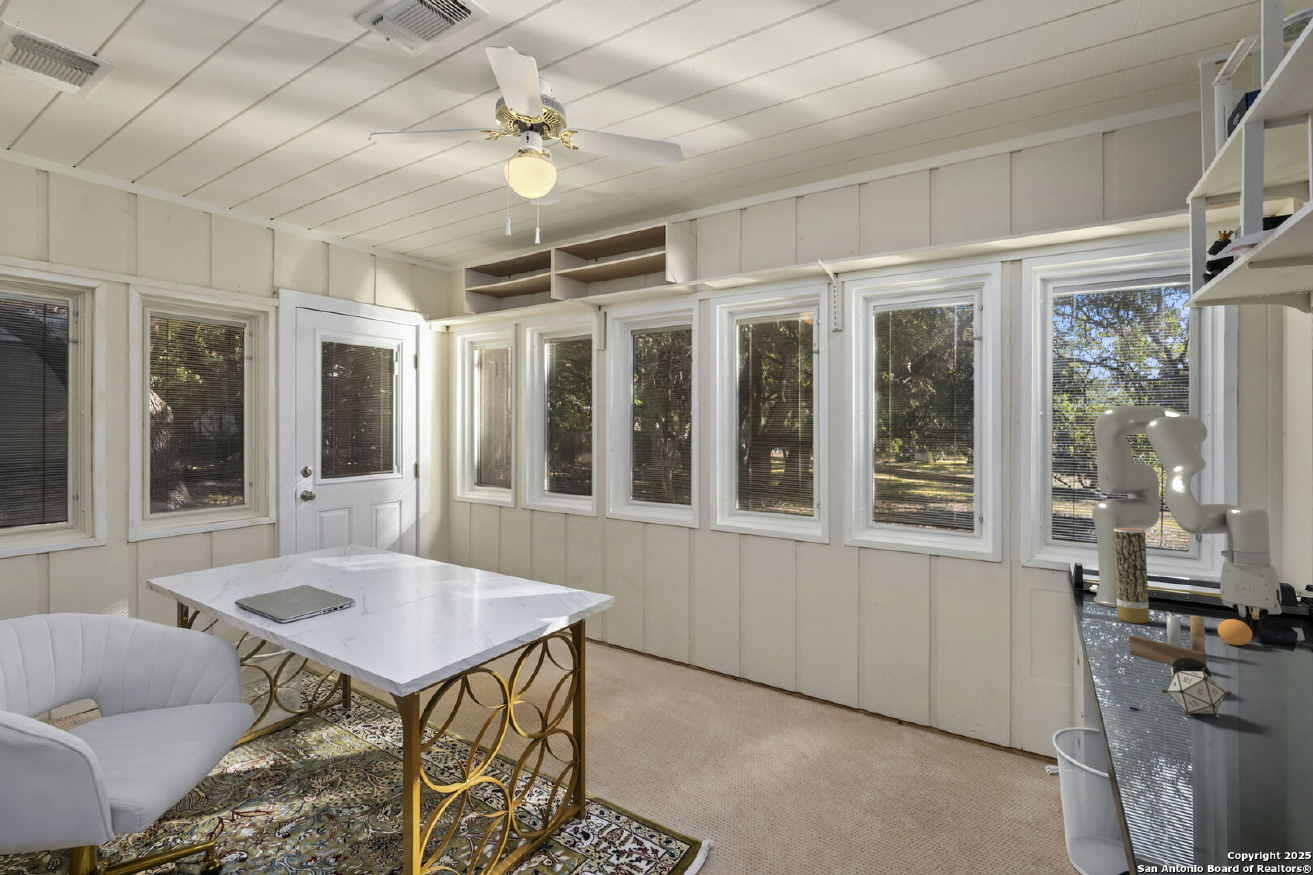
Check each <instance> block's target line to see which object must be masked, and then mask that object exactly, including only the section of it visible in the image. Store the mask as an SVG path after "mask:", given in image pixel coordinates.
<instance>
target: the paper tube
mask: <svg viewBox="0 0 1313 875" xmlns="http://www.w3.org/2000/svg"><path fill="white" fill-rule="evenodd" d="M1114 544H1115V567H1116V591H1117V608H1116V610H1117V611H1116V612H1117V618H1118V620H1120V621H1123V622H1126V623H1129V624H1130V623H1131V624H1147V623H1149V621H1150V616H1149V591H1148V590H1149V587H1148V565H1147V548H1146V547H1147V546H1146V545H1147V544H1146V530H1145V529H1138V528H1114Z"/></svg>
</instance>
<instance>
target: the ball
mask: <svg viewBox="0 0 1313 875" xmlns="http://www.w3.org/2000/svg"><path fill="white" fill-rule="evenodd" d="M1217 634H1218V635H1219V637H1220V639H1221V640H1222V641H1224V642H1226V643H1227V644H1230V645H1232V646H1244V645H1246V644H1247V645H1248V643H1250V642H1251V641H1252V638H1253V635H1252V631H1251V629H1250V628H1249V626H1248V625H1247V624H1245V623H1244V622H1243V620H1238V619H1235V618H1228V619H1225V620H1222V621H1221V622H1220V623H1219V624H1218V627H1217Z"/></svg>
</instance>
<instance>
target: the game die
mask: <svg viewBox="0 0 1313 875" xmlns="http://www.w3.org/2000/svg"><path fill="white" fill-rule="evenodd" d="M1173 669H1174V671H1176V672H1175V675H1174V677H1172V678H1171V681H1170V683H1169V685H1168V687H1167V689H1162V690H1160V692H1161V693H1163V694H1166V693H1167V694H1168V695H1169V696H1170V697H1171V698H1172V699H1173V700H1174V701H1175V702H1176V703H1177V704H1178V705H1179V706H1180V707H1181V708H1182V709H1183V710H1184V711H1185V712H1186V713H1185V714H1187V715H1189V716H1190V714H1204V715H1207V714H1208V715H1214V714H1215V715H1219V714H1218V713H1217V712H1218V710H1219V708H1220V706H1221V704H1222V703H1223V701H1224V698H1225V696H1226V695H1232V694H1233V692H1232V691H1230V690H1227V691H1225V689H1224V688H1222V687H1221V686H1220V685H1219V684H1218V683H1216V681H1215V680H1213V679H1212V677H1211V678H1210V677H1209V676H1208V675H1207V674H1206V673H1205V670H1206V669H1205V667H1204V668H1202V671H1178V670H1177V669H1176V668H1175V667H1173ZM1215 715H1214V716H1215Z"/></svg>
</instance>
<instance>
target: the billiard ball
mask: <svg viewBox="0 0 1313 875" xmlns="http://www.w3.org/2000/svg"><path fill="white" fill-rule="evenodd" d="M1170 666H1171V667H1170V674H1171V676H1172V678H1173V677H1174V675H1175V672H1176V671H1174V669H1173V667H1175V668H1176V669H1177V670H1178V671H1202V668H1204V667H1205V669H1206V670H1205V673H1206V674H1207V675H1208V676H1209V677H1210V678H1211V679H1212V673H1211V671H1210V669H1209V667H1208V665H1207V666H1206V665H1205V664H1204V663H1202V662H1200V661H1198V660H1196V659H1193V658H1180V659H1177V660H1176V661H1174V662H1173V664H1172V665H1170Z"/></svg>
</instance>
